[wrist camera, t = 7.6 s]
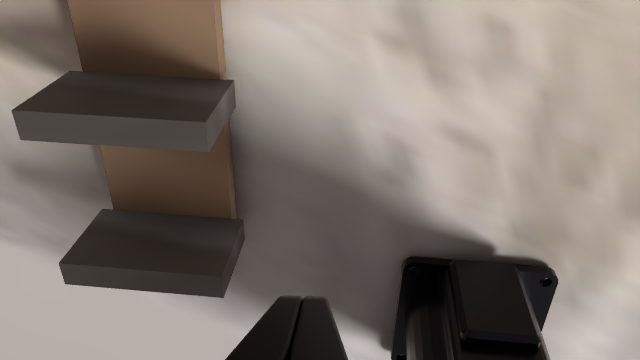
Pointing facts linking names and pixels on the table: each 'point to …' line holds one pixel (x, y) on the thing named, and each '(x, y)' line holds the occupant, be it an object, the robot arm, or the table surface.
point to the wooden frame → (149, 144)
